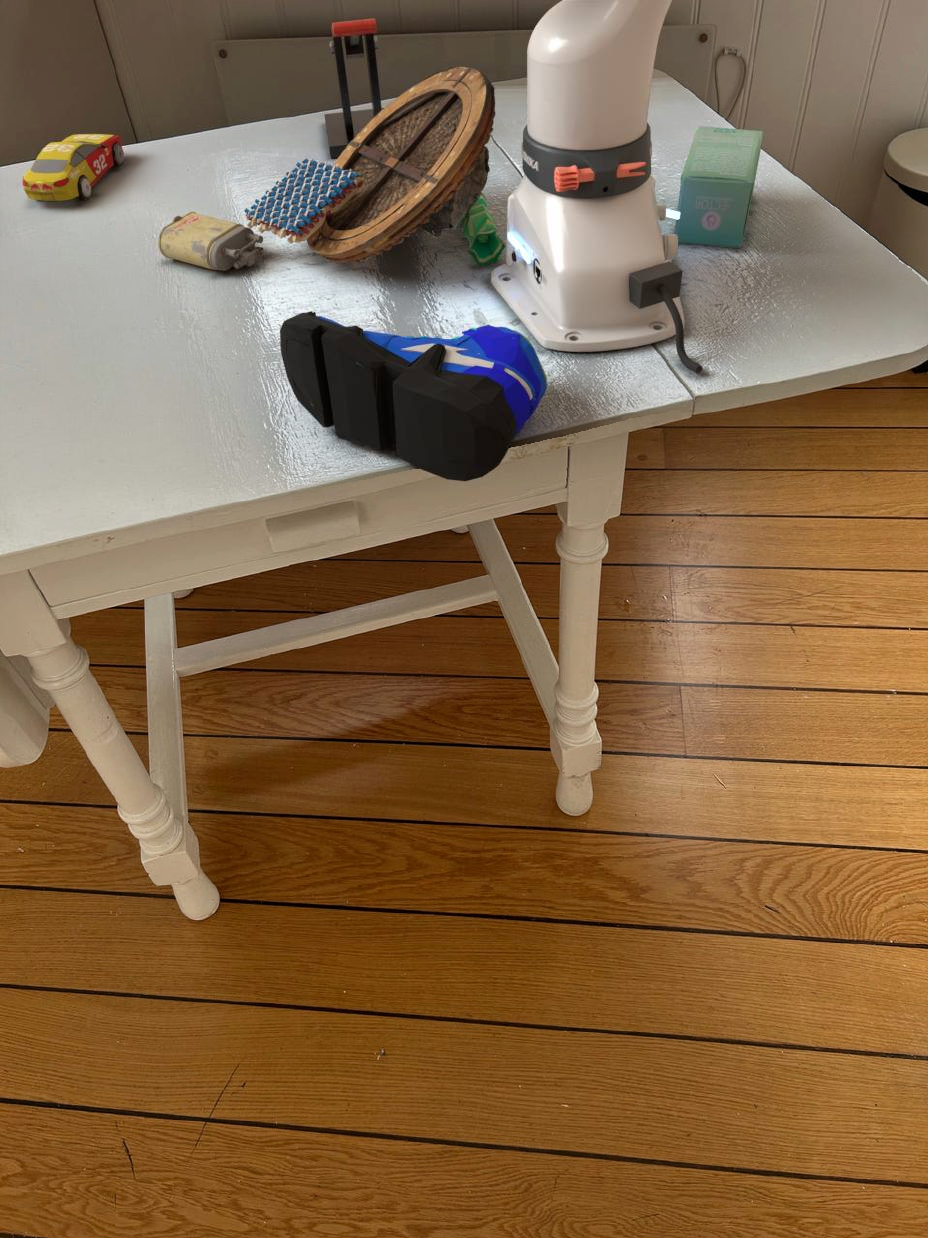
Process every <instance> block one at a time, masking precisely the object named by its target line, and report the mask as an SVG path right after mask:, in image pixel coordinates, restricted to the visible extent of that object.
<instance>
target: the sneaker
mask: <svg viewBox="0 0 928 1238" xmlns="http://www.w3.org/2000/svg"><path fill="white" fill-rule="evenodd" d="M461 334H462V335H461V336H459V335H458V336H455V337H453V338H451V339H450V338H441V337H439V336H436V335H435V336H434V337H429V336H426V335H419V337H418V336H417V337H416V336H415V337H414V335H405V336H402V335H398V334H391V333H384V332H377V331H371V330H364V329H363V328H362V327H359V326H358V325H349V326H345V325H343V324H341V323H340V322H337V321H335V320H333V319H330V318H327V317H325V316H323V315H322V316H319V315H317V313H316V311H313V310H311V311H305V312H300V313H299V314H297V315H294V316H292V317H289V318H287V319H285V320H283V322H282V324H281V326H280V329H279V341H280V342H279V343H280V354H281V359H282V362H283V366H284V370H285V374H286V377H287V378H286V379H287V380H288V383H289V386H290V388H291V390H292V392H293V394H294V396H295V398H296V400H297V402H298V403H299V404H300V405H301V406H302V407H303V408H304V409H305V410H306V411H307V412H308V413H309V414H310V415H311V417H312V418H314V420H316V422H317V423H319V424H320V426H321V427H322V428H331V427H333V426H334V427H333V428H334V433H335V435H336V436H337V438H338V439H341V440H344V441H347V442H350V443H354V444H357V445H360V446H364V447H367V448H370V449H373V450H376V451H381V450H384V449H387V448H390V447H393V448H396V456H397V458H399V459H401V460H403V461H404V462H406V463H409V464H410V465H411V466H413V467H415V468H416V469H419V470H422V471H423V472H427V473H429V474H432V475H435V476H437V477H439V478H442V479H445V480H450V481H458V482H468V481H472V480H476V479H481V478H483V477H484V476H487V475H488V474H489V473H491V472H492V471H493V470H495V469H496V468H498V467H499V466H500V465H501V463H502V461H503V460H504V458H505V457H506V455H507V453H508V452H509V449H510V448H511V444H512V442H513V441H514V440H515V438H516V437H517V436H518V434H520V433H521V431H522V430H523V428H524V427H525V426H526V425H527V424H528V422H529V420H530V418H531V417H532V415H533V414H534V413H535V412H536V410H537V409H538V406H539V404H540V402H541V401H542V400H543V398H544V397H545V396H546V392H547V390H548V377H547V374H546V372H545V369H544V367H543V365H542V363H541V361H540V358H539V356H538V353H537V352H536V350H535V347H534V346H533V345H532V343H531V341H530V339H529V338H528V337H526V336H525V335H523V334H522V333H521V332H519V331H518V330H517V329H511V328H509V327H507V326H494V325H490V324H486V325H483V326H479V327H470V328H469V329H467V330H464V331H461Z"/></svg>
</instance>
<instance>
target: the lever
mask: <svg viewBox="0 0 928 1238" xmlns="http://www.w3.org/2000/svg"><path fill="white" fill-rule="evenodd" d="M331 24H332V25H331V26H333V33H334V37H341V38H342V37H343V41H344V42H343V43H344V50H345V55H346V60H352V59H354V60H355V59H361V58H362V59H363V58H364V57H365V46H364V40H363V35H364V34H372V33H374V34H377V33H378V29H377V21H376V18H367V19H356V20H346V21H336V22H332V23H331Z"/></svg>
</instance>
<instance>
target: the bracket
mask: <svg viewBox="0 0 928 1238" xmlns="http://www.w3.org/2000/svg"><path fill="white" fill-rule="evenodd" d="M330 28H331V37H332V40H330V41H329V50H330V55H334V58H335V59H334V60H335V65H336V73H337V81H338V88H339V94H340V102H341V108H342V109H341V110H342V111H341V112H334V113H333V112H332V113H325V114H324V121H325V122H324V123H325V129H326V136H327V143H328V148H329V151H328V152H329V157H330V159H331V160H332V159H338V158H339V156H340V155H341V154H342V152H343V151H344V150H345V148H346V147H347V146H348V145H349V143H350V142H351V141H352V140H353V139H354V138H355V137H356V136H357V135H358V133H359V132H360V131H361V130H362V129H363V128H364V127H365V126H366V125H367V124H368V123H369V122H370V121H371V120H372V119H373V118H374V117H375V116H376V115H377V114H378V113H379V112H380V111H381V110H383V109H384V108H385V107H383V106H382V99H381V91H380V90H381V89H380V81H379V72H378V62H377V54H376V53H377V51H376V50H379V41H378V40H379V39H378V36H375V35H374V34H375V33H372V34H363V38H364V49H365V56H366V64H367V73H368V81H369V88H370V89H369V90H370V91H369V92H370V99H371V107H372V108H369V109H359V110H352V108H351V101H350V93H349V86H348V78H347V69H346V62H345V55H344V46H343V41H342V40H343V39H342V37H334V33H333V26H332V25H331V26H330Z"/></svg>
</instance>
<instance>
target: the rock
mask: <svg viewBox="0 0 928 1238" xmlns="http://www.w3.org/2000/svg"><path fill="white" fill-rule="evenodd" d="M483 150H484V151H483V153H482V155H481V156H480V157H479V158H478V159H476V160H475V161H474V162H475V168H474V169H473V170H472V171H471V172H470V173H469V174H468V175H466V176H465V177H464V179H463V180H464V181H465V182H464V183H463V185H462V186H461V187H460V188H459V189H457V190H454V191H453V192H454V195H453V196H452V198H451V199H450V200H448V201H447V202H443V204H444V205H443V207H442V209H439V210H438V211H437V212H436V213H431V214H429V218H430V220H429V221H428V222H427V223H424V224H419V226H420V227H419V228H421V230H423V231H425V233H427V234H429V235H431V236H433V237H434V238H439V237H440V236H441V235H442V233H443V231H445V230H454V229H455V228H457V226H458V225H459V224H461V223H460V221H461V219H462V218H465V216H466V214H467V213H468V212H469V210H470V209H471V206H472V205H473V204H474V203H475V202H477V200H478V199H479V198H480V196H481V192H482V193H483V191H484V188H485V187H486V184H487V182H488V176H489V172H491V169H490V168H491V167H490V165H489V161H490V154H489V153H490V151H489V148H488V146H486V145H485V146H484V148H483Z"/></svg>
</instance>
